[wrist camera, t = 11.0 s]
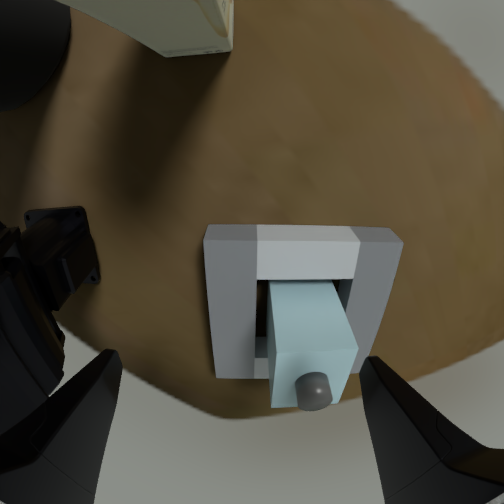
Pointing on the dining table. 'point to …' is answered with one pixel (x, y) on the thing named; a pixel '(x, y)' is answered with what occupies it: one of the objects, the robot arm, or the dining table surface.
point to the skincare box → (167, 23)
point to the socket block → (292, 268)
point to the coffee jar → (30, 47)
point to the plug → (307, 344)
